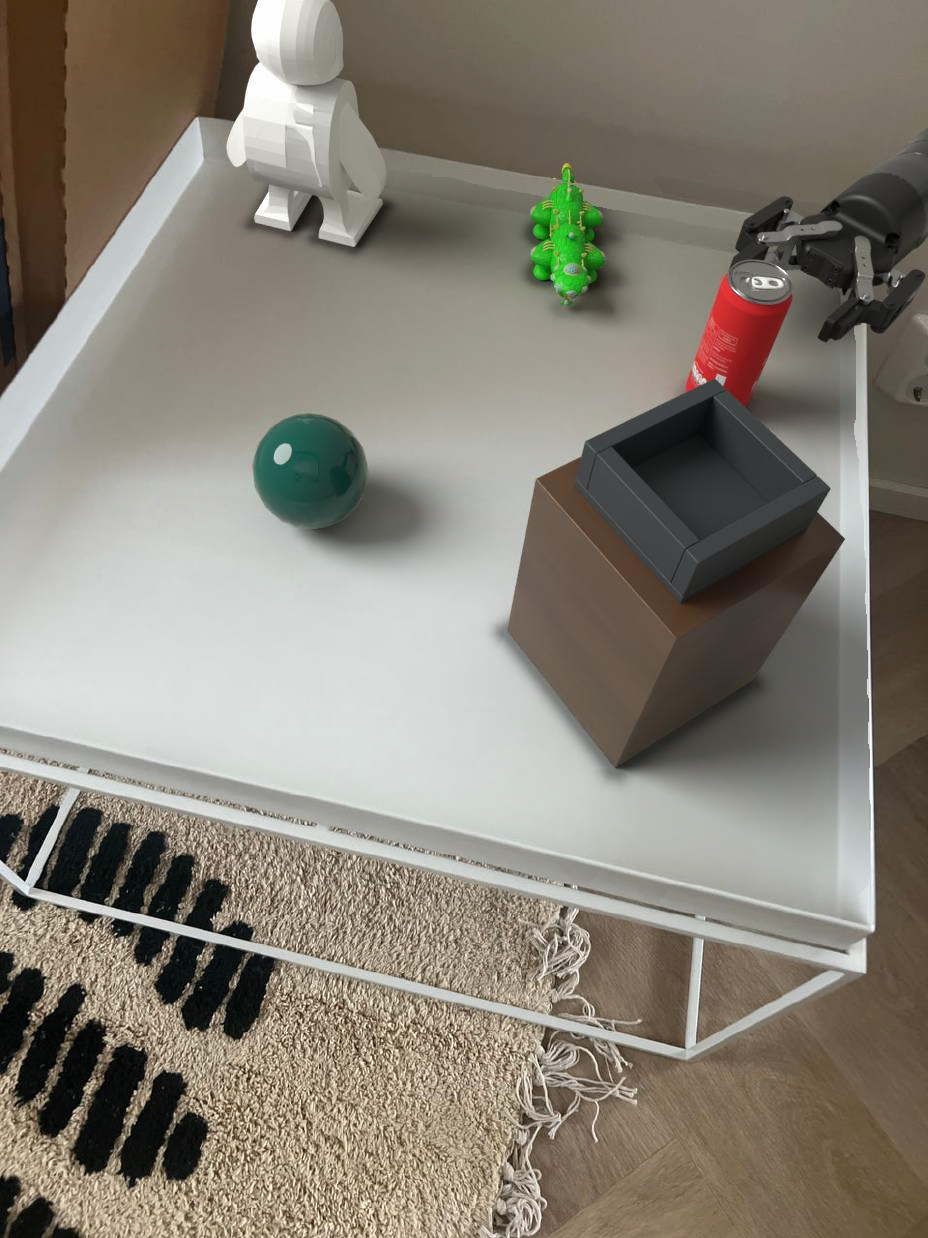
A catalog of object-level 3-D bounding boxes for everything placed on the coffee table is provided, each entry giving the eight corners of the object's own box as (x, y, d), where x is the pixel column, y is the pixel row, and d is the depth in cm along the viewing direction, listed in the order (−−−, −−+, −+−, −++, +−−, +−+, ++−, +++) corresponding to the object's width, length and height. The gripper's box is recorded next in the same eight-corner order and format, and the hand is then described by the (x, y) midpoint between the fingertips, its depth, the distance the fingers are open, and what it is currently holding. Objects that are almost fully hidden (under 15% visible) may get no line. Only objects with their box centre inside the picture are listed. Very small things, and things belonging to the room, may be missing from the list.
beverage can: (679, 376, 81) (720, 254, 71) (741, 380, 81) (791, 259, 71) (685, 423, 78) (728, 302, 68) (749, 427, 78) (801, 307, 68)
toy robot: (401, 208, 91) (403, -27, 74) (369, 268, 86) (363, 32, 69) (261, 174, 92) (231, -64, 75) (222, 231, 87) (180, -9, 70)
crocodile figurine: (528, 319, 84) (534, 278, 80) (527, 190, 93) (532, 148, 90) (604, 325, 84) (614, 284, 80) (596, 195, 93) (604, 153, 90)
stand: (641, 556, 71) (700, 397, 57) (753, 680, 66) (846, 538, 53) (506, 630, 67) (535, 478, 53) (614, 768, 62) (676, 639, 48)
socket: (697, 423, 56) (714, 377, 53) (806, 531, 53) (831, 488, 50) (573, 485, 53) (584, 440, 50) (680, 604, 50) (698, 563, 47)
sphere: (256, 552, 69) (241, 478, 62) (262, 465, 73) (249, 387, 67) (369, 551, 70) (367, 478, 63) (369, 465, 74) (367, 388, 67)
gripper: (829, 136, 82) (717, 218, 75) (982, 216, 77) (878, 311, 70) (797, 215, 88) (692, 297, 81) (937, 294, 84) (838, 387, 77)
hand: (778, 303), depth 76 cm, fingers open, 8 cm apart
